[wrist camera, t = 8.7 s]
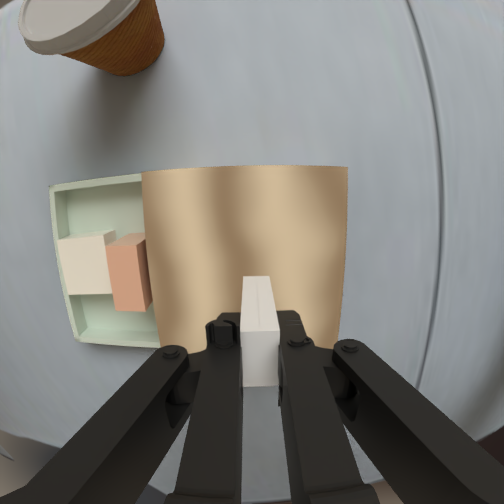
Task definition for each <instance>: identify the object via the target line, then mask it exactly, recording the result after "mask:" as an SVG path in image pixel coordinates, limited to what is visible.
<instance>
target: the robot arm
mask: <svg viewBox="0 0 504 504" xmlns="http://www.w3.org/2000/svg"><path fill="white" fill-rule="evenodd" d="M205 330H206V340H207V347H206V349H205V350H203V351H200V352H196V353H190V354H188V352H187V349H186V348H184V347H182V346H179V345H166V346H163V347H161V348H159V349H158V350H156V351H155V352H154V353H153V354H152V355H151V356H150V357H149V358H148V359H147V360H146V361H145V363H144V364H143V365H142V366H141V367H140V368H139V369H138V370H137V371H136V372H135V373H134V374H133V375H132V376H131V377H130V378H129V379H128V380H127V381H126V382H125V383H124V384H123V385H122V386H121V387H120V388H119V389H118V390H117V391H116V392H115V394H114V395H113V396H112V397H111V398H110V399H109V400H108V401H107V402H106V403H105V404H104V405H103V406H102V407H101V408H100V409H99V410H98V411H97V412H96V413H95V414H94V415H93V416H92V417H91V418H90V419H89V420H88V421H87V422H86V424H85V425H84V426H83V427H82V428H81V429H80V430H79V431H78V432H77V433H76V434H75V435H74V436H73V437H72V438H71V439H70V440H69V441H68V442H67V443H66V444H65V445H64V446H63V447H62V448H61V449H60V450H59V451H58V452H57V454H56V455H55V456H54V457H53V458H52V459H51V460H50V461H49V462H48V463H47V464H46V465H45V466H44V467H43V468H42V469H41V470H40V471H39V472H38V473H37V474H36V475H35V476H34V477H33V478H32V479H31V480H30V481H29V483H28V484H27V485H26V486H24V487H22V488H20V489H17V490H15V491H13V492H11V493H9V494H7V495H4V496H2V497H0V504H135V502H136V501H137V499H138V498H139V496H140V495H141V493H142V492H143V490H144V488H145V487H146V485H147V484H148V482H149V481H150V479H151V477H152V476H153V474H154V473H155V471H156V470H157V468H158V466H159V465H160V463H161V462H162V460H163V458H164V457H165V455H166V454H167V452H168V450H169V449H170V447H171V445H172V444H173V442H174V441H175V439H176V437H177V436H178V434H179V432H180V431H181V429H182V428H183V426H184V424H185V423H186V421H187V419H188V418H189V416H190V414H191V416H190V421H189V425H188V430H187V434H186V439H185V443H184V448H183V453H182V457H181V462H180V467H179V472H178V477H177V481H176V486H175V490H174V492H173V493H170V494H168V495H167V497H166V499H165V502H164V504H241V480H242V426H243V387H260V386H278V382H279V399H278V406H280V408H281V416H282V424H283V432H284V441H285V449H286V457H287V466H288V475H289V483H290V492H291V501H292V504H380V502H379V500H378V497H377V494H376V492H375V490H374V488H373V487H372V486H371V485H370V484H364V483H363V481H362V479H361V476H360V473H359V470H358V467H357V464H356V461H355V458H354V455H353V452H352V449H351V446H350V443H349V440H348V437H347V434H346V431H345V428H344V425H345V427H346V428H347V429H348V431H349V432H350V433H351V435H352V436H353V437H354V439H355V440H356V441H357V443H358V444H359V445H360V447H361V448H362V450H363V451H364V452H365V454H366V455H367V456H368V458H369V459H370V460H371V461H372V463H373V464H374V465H375V467H376V468H377V469H378V471H379V472H380V473H381V475H382V476H383V477H384V479H385V480H386V481H387V482H388V484H389V485H390V486H391V488H392V489H393V490H394V492H395V493H396V494H397V495H398V497H399V498H400V499H401V500H402V502H403V503H404V504H504V466H502V465H501V464H500V463H499V462H498V461H497V460H496V459H494V458H493V457H492V456H491V455H490V454H489V453H488V452H486V451H485V450H484V449H483V448H482V447H481V446H480V445H479V444H478V443H476V442H475V441H474V440H473V439H472V438H471V437H470V436H468V435H467V434H466V433H465V432H464V431H463V430H462V429H461V428H459V427H458V426H457V425H456V424H455V423H454V422H453V421H452V420H450V419H449V418H448V417H447V416H446V415H445V414H444V413H442V412H441V411H440V410H439V409H438V408H437V407H436V406H435V405H433V404H432V403H431V402H430V401H429V400H428V399H427V398H425V397H424V396H423V395H422V394H421V393H420V392H419V391H417V390H416V389H415V388H414V387H413V386H412V385H411V384H409V383H408V382H407V381H406V380H405V379H404V378H403V377H401V376H400V375H399V374H398V373H397V372H396V371H395V370H393V369H392V368H391V367H390V366H389V365H388V364H387V363H386V362H384V361H383V360H382V359H381V358H380V357H379V356H377V355H376V354H375V353H374V352H373V351H372V350H371V349H369V348H368V347H367V346H366V345H365V344H364V343H362V342H360V341H357V340H354V339H344V340H340V341H337V342H336V343H335V344H334V347H333V349H328V348H321V347H318V346H315V344H314V341H313V340H312V339H311V338H310V337H308V336H307V335H306V332H305V329H304V326H303V323H302V320H301V318H300V315H299V314H298V313H297V312H296V311H294V310H280V311H276V308H275V303H274V298H273V292H272V287H271V282H270V277H269V276H243V289H242V305H241V312H224V313H221V314H220V315H219V316H218V317H217V319H216V320H212V321H210V322H209V323H207V324H206V326H205ZM343 424H344V425H343Z"/></svg>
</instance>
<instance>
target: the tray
mask: <svg viewBox="0 0 504 504" xmlns="http://www.w3.org/2000/svg"><path fill="white" fill-rule="evenodd" d="M49 196H50V209H51V219H52V228H53V236H54V244H55V251H56V257H57V263H58V269H59V274H60V279H61V284H62V289H63V294H64V298H65V302H66V307H67V311H68V315H69V319H70V322H71V326H72V330H73V333H74V337H75V340H76V341H78V342H87V343H96V344H107V345H120V346H134V347H152V348H161V346H160V341H159V335H158V330H157V324H156V318H155V311H154V305H153V301H152V303H151V304H150V306H149V307H148V309H147V310H146V312H140V311H116V309H115V304H114V299H113V294H78V295H68V292H67V288H66V283H65V279H64V275H63V270H62V266H61V261H60V256H59V251H58V245H57V240H59V239H61V238H64V237H66V236H69V235H73V234H80V233H88V232H97V231H105V230H114V229H115V231H116V238H117V240H118V239H120V238H121V237H123V236H125V235H127V234H129V233H143V232H145V227H144V214H143V199H142V178H141V173H140V174H130V175H121V176H113V177H105V178H97V179H90V180H83V181H76V182H69V183H63V184H57V185H51V186H49Z"/></svg>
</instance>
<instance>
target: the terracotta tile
mask: <svg viewBox="0 0 504 504" xmlns="http://www.w3.org/2000/svg"><path fill="white" fill-rule="evenodd" d="M105 250H106V257H107V264H108V271H109V277H110V283H111V288H112V294H113V299H114V304H115V309H116V311H140V312H146V310H147V309H148V307H149V306H150V304H151V303H152V301H153V298H152V291H151V283H150V276H149V267H148V259H147V249H146V239H145V232H143V233H129V234H127V235H125V236H123V237H121V238H120V239H118V240H116V241H114V242H112V243H110V244H109V245H107V246H105Z"/></svg>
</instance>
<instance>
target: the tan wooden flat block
mask: <svg viewBox="0 0 504 504" xmlns="http://www.w3.org/2000/svg"><path fill="white" fill-rule="evenodd" d="M141 178H142V199H143V214H144V227H145V239H146V249H147V259H148V267H149V276H150V283H151V291H152V298H153V305H154V311H155V318H156V324H157V330H158V335H159V341H160V346H161V347H163V346H166V345H179V346H182V347H184V348H186V349H187V352H188V354H190V353H196V352H200V351H203V350H205V349H206V347H207V340H206V330H205V326H206V324H207V323H209V322H210V321H212V320H216V319H217V317H218V316H219V315H220V314H221V313H224V312H241V305H242V289H243V276H269V277H270V282H271V287H272V292H273V298H274V303H275V308H276V311H280V310H294V311H296V312H297V313H298V314H299V315H300V318H301V320H302V323H303V326H304V329H305V332H306V335H307V336H308V337H310V338H311V339H312V340H313V341H314V344H315V346H318V347H321V348H328V349H333V347H334V344H335V343H336V342H337V341H338V333H339V324H340V315H341V305H342V294H343V282H344V269H345V253H346V232H347V194H348V167H337V166H303V165H255V166H221V167H200V168H184V169H170V170H158V171H147V172H141Z"/></svg>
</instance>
